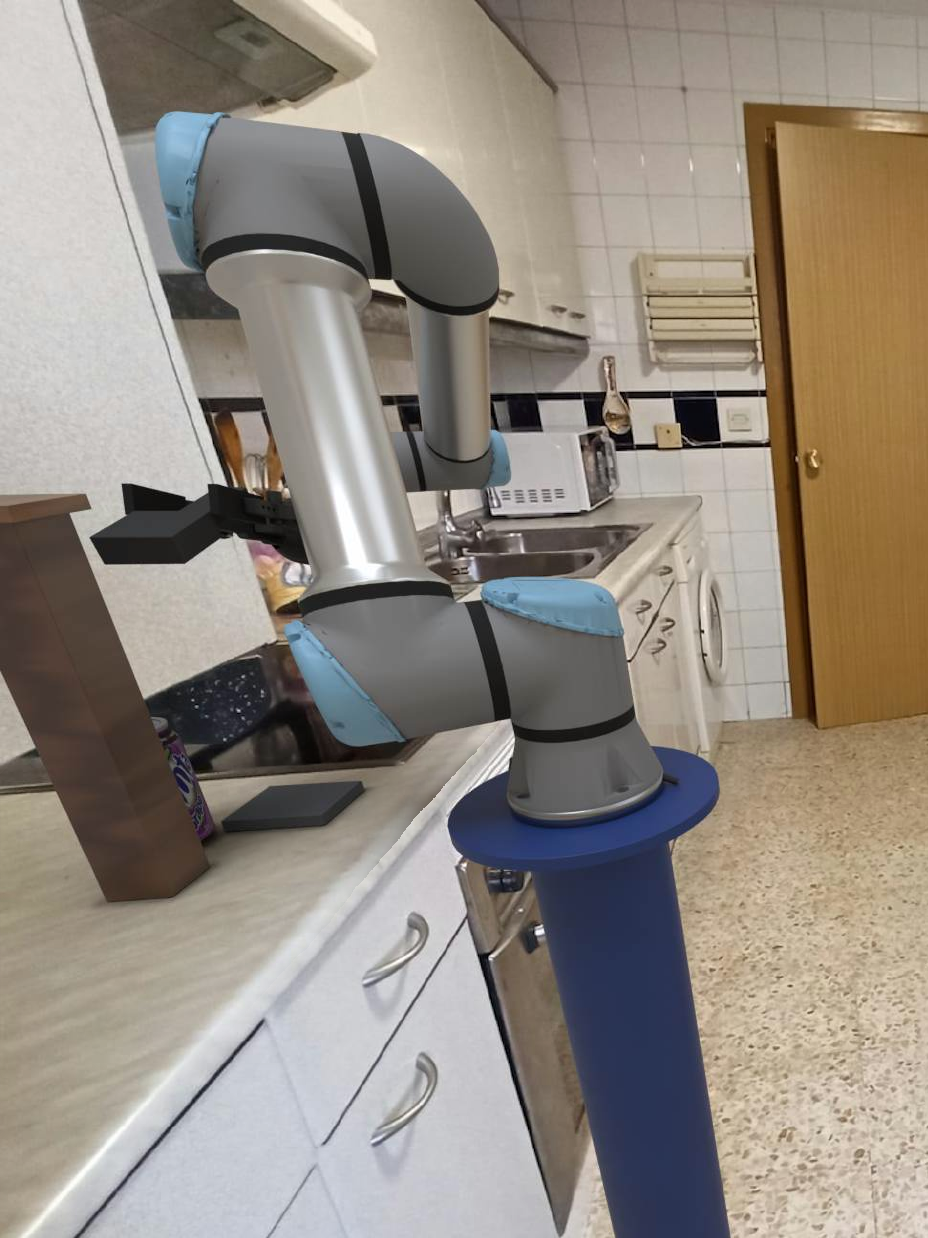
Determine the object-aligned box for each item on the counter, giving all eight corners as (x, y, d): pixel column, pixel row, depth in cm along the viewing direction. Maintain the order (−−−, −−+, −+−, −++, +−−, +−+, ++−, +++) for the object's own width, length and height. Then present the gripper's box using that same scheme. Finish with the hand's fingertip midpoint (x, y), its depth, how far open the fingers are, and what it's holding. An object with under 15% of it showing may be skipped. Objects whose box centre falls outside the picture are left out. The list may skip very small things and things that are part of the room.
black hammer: (271, 501, 85) (261, 477, 84) (185, 564, 73) (171, 536, 72) (203, 501, 84) (191, 476, 83) (104, 565, 72) (88, 537, 71)
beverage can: (135, 872, 77) (82, 751, 72) (107, 850, 80) (54, 734, 76) (230, 838, 83) (186, 724, 78) (200, 820, 86) (157, 709, 81)
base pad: (364, 790, 92) (361, 780, 92) (324, 825, 85) (321, 814, 85) (273, 795, 91) (269, 785, 91) (224, 832, 84) (220, 821, 83)
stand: (227, 858, 79) (86, 493, 67) (174, 900, 73) (7, 505, 60) (155, 863, 78) (-3, 494, 66) (95, 906, 72) (-93, 507, 59)
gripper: (414, 566, 101) (295, 541, 78) (232, 568, 97) (52, 542, 75) (408, 501, 100) (285, 457, 77) (225, 501, 97) (40, 454, 74)
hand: (171, 499), depth 76 cm, fingers closed on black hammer, 6 cm apart
